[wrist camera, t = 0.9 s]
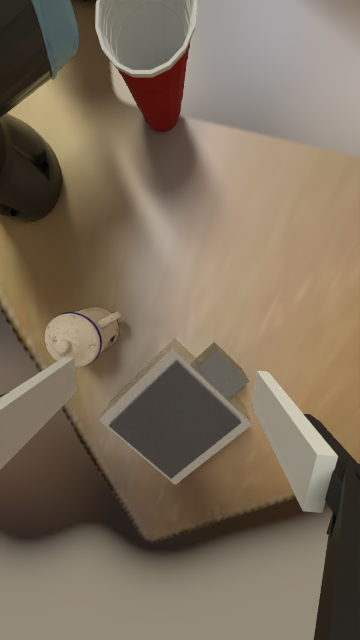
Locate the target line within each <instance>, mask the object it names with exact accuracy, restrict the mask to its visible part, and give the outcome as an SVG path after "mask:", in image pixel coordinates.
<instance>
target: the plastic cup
mask: <svg viewBox="0 0 360 640" xmlns="http://www.w3.org/2000/svg"><path fill="white" fill-rule="evenodd" d="M196 12H197V0H97V2H96V17H95V28H96V32H97V35H98V38H99V41H100V45H101V48H102V50H103V51H104V53H105V54H106V56H107V57H108V58H109V59H110V61H111V62H112V63H113V64H114V66H115V67H116V68H117V69H118V71H119V73H120V74H121V75H122V77H123V79H124V81H125V83H126V84H127V86H128V88H129V90H130V92H131V94H132V96H133V98H134V100H135V102H136V103H137V106H138V107H139V109H140V110H141V112H142V114H143V116H144V118H145V120H146V121H147V122H148V124H149V125H150V126H151V128H153V129H155V130H156V131H161V132H165V131H167V130H170V129H171V128H172V127H173V126H174V125H175V124H176V123H177V120H178V118H179V115H180V110H181V101H182V97H183V88H184V80H185V72H186V63H187V59H188V50H189V48H190V40H191V38H192V35H193V33H194V30H195V23H196Z"/></svg>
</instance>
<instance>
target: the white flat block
mask: <svg viewBox="0 0 360 640" xmlns="http://www.w3.org/2000/svg"><path fill="white" fill-rule="evenodd" d="M248 382H249V380H248V378H247V377H246V375H245V373H244V371H243V370H242V368H241V367H240V366H239V365H238V364H236V363H235V362H234V361H233V360H232V359H231V358H230V357H229V356H228V355H227V354H226V353H225V352H224V351H223V350H222V349H221V348H220V347H219V346H218V345H217V344H216V343H215V342H214V343H212V344H211V345H210V346H209V347H208V348H207V349H206V350H205V351H204V352H203V353H202V354H201V355H200V356H198V357H197V358H195V357H194V356H193V355H192V354H191V353H190V352H189V351H188V350H187V349H186V348H185V347H184V346H182V345H181V344H180V343H179V342H178V341H177V340H176V339H174V340H173V341H172V342H171V343H170V344H169V345H168V346H167V347H165V348H164V349H163V350H162V351H161V352H160V353H159V354H158V355H157V356H156V357H155V358H154V359H153V360H152V361H151V362H150V363H149V364H148V365H147V366H146V367H145V368H144V369H143V370H142V371H141V372H140V373H139V374H138V375H137V376H136V377H135V378H134V379H133V380H132V381H131V382H130V383H129V384H128V385H127V386H126V387H125V388H124V389H123V390H122V391H121V392H120V393H119V394H118V395H117V396H116V397H115V398H113V399H112V400H111V402H110V403H109V405H108V406H107V408H106V409H105V411H104V412H103V414H102V415H101V417H100V418H99V421H100V422H101V423H103V424H104V425H105V426H106V427H107V428H109V429H110V430H111V431H112V432H113V433H114V434H116V435H117V436H118V437H119V438H120V439H121V440H123V441H124V442H125V443H126V444H127V445H129V446H130V447H131V448H132V449H133V450H134V451H136V452H137V453H138V454H139V455H140V456H142V457H143V458H144V459H145V460H146V461H147V462H149V463H150V464H151V465H152V466H153V467H154V468H156V469H157V470H158V471H159V472H160V473H162V474H163V475H164V476H165V477H166V478H167V479H169V480H170V481H171V482H172V483H173V484H175V485H176V484H177V483H178V482H180V481H181V480H182V479H183V478H185V477H186V476H187V475H188V474H190V473H191V472H192V471H194V470H195V469H196V468H197V467H199V466H200V465H201V464H203V463H204V462H205V461H206V460H208V459H209V458H210V457H211V456H213V455H214V454H215V453H217V452H218V451H219V450H220V449H222V448H223V447H224V446H225V445H227V444H228V443H229V442H231V441H232V440H233V439H234V438H236V437H237V436H238V435H239V434H241V433H242V432H243V431H245V430H246V429H247V428H248V427H250V426H251V425H252V422H251V420H250V417H249V415H248V413H247V410H246V408H245V406H244V403H242V402H241V401H240V400H239V399H238V398H237V397H236V396H235V395H234V394H235V393H236V392H237V391H238V390H240V389H241V388H242V387H243V386H244V385H246V384H247V383H248Z"/></svg>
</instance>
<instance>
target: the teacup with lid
mask: <svg viewBox="0 0 360 640" xmlns="http://www.w3.org/2000/svg"><path fill="white" fill-rule="evenodd" d="M121 316H122V315H121V314H120V312H114V313H112V314H111V313H110V312H109V311H108V310H106V309H104V308H100V307H91V308H87V309H83V310H80V311H76V312H67V313H62V314H60V315H58V316H56V317H55V318H54V319H53V320H52V321H51V322H50V323H49V324H48V326H47V329H46V332H45V344H46V347H47V349H48V351H49V353H50V354H51V356H52V357H53V358H54V359H55V360H56V361H59V360H60V359H62V358H63V357H71V358H74V359H75V367H83V366H87V365H89V364H91V363H92V362H93V361H95V360H96V358H97V357H98V356H99V355H100V354H101V353H102V352H104V351H105V350H106V349H107V348H108V347H110V346H111V345H112V344H113V343H114V342H115V341H116V339H117V337H118V333H119V327H118V323H117V320H118V319H120V318H121Z"/></svg>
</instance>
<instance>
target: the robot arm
mask: <svg viewBox="0 0 360 640" xmlns="http://www.w3.org/2000/svg"><path fill="white" fill-rule="evenodd" d="M78 46H79V32H78V27H77V22H76V18H75V14H74V11H73V7H72V4H71V1H70V0H0V215H1V216H3V217H6V218H9V219H12V220H15V221H19V222H32V221H36V220H39V219H41V218H43V217H44V216H46V215H47V214H48V213H49V212H50V211H51V210H52V209H53V207H54V206H55V204H56V202H57V200H58V197H59V194H60V189H61V172H60V167H59V163H58V160H57V158H56V156H55V153H54V152H53V150H52V148H51V147H50V145H49V144H48V143H47V142H46V141H45V140H44V139H43V138H42V137H41V136H40V135H39V134H38V133H37V132H36V131H35V130H34V129H33V128H32V127H30V126H29V125H28V124H26V123H25V122H23V121H22V120H20V119H18V118H16V117H13V116H11V115H9V114H7V112H8V111H10V110H11V109H12V108H13V107H15V106H16V105H17V104H19V103H20V102H21V101H23V100H24V99H25V98H26V97H28V96H29V95H30V94H32V93H33V92H34V91H35V90H37V89H38V88H39V87H41V86H42V85H43V84H44V83H46V82H47V81H48V80H50V79H51V78H52V79H53V80H54V79H55V78H56V76H57V72H58V71H59V70H60V69H61V68H62V67H63V66H64V65H65V64H67V63H68V62H69V61H70V60H71V59H72V58H73V57H74V56H75V54H76V53H77V50H78ZM76 392H77V389H76V374H75V359H74V358H71V357H63V358H62V359H60V360H59V361H57V362H56V363H54V364H52V365H51V366H49V367H48V368H46V369H45V370H43V371H42V372H40V373H38V374H37V375H35V376H34V377H32V378H31V379H29V380H27V381H26V382H24V383H23V384H21V385H20V386H18V387H17V388H15V389H14V390H12V391H10V392H8V393H5V394H3V395H1V396H0V469H1V468H2V467H3V466H4V465H5V464H6V463H7V462H8V461H9V460H10V459H11V458H12V457H13V456H14V455H15V454H16V453H17V452H18V451H19V450H20V449H21V448H22V447H23V445H25V444H26V443H27V442H28V441H29V440H30V439H31V438H32V437H33V436H34V435H35V434H36V433H37V432H38V431H39V429H40V428H42V426H44V424H45V423H46V422H47V421H48V420H49V419H50V418H51V417H52V416H53V415H54V414H55V413H56V412H57V411H58V410H59V409H60V408H61V407H62V406H63V405H64V404H65V403H66V402H67V401H68V400H69V399H70V398H71V397H72V396H73V395H74V394H75V393H76ZM252 407H253V409H254V411H255V413H256V415H257V417H258V419H259V421H260V423H261V425H262V428H263V430H264V432H265V434H266V436H267V438H268V440H269V442H270V444H271V446H272V448H273V450H274V452H275V454H276V456H277V458H278V461H279V463H280V465H281V467H282V469H283V471H284V473H285V475H286V477H287V479H288V481H289V483H290V485H291V487H292V489H293V491H294V494H295V496H296V498H297V500H298V502H299V504H300V505H301V508H302V510H303V511H309V512H320V513H322V512H323V508H324V505H325V502H327V504H328V505H329V507H330V509H331V510H332V512H333V514H332V517H331V520H330V524H329V527H328V530H327V534H328V535H329V536H328V544H327V550H326V558H325V565H324V572H323V578H322V586H321V594H320V600H319V607H318V614H317V621H316V628H315V635H314V640H360V464H358V463H357V462H356V461H355V460H354V459H353V458H352V457H351V455H350V454H349V453H348V452H347V451H346V450H345V449H344V448H343V447H342V445H341V444H340V443H339V442H338V441H337V440H336V439H335V438H334V437H333V435H332V434H331V433H330V432H329V431H327V429H326V428H325V427H324V426H323V424H322V423H321V422H320V421H318V420H317V419H316V418H314V417H313V416H311V415H310V414H303V413H302V412H301V411H300V410H299V408H298V407H297V406H296V405H295V404H294V402H293V401H292V400H291V399H290V398H289V396H288V395H287V394H286V393H285V392H284V390H283V389H282V388H281V387H280V386H279V384H278V383H277V382H276V381H275V379H274V378H273V377H272V376H271V375H270V373H269V372H267V371H257V374H256V380H255V387H254V393H253V400H252Z"/></svg>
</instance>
